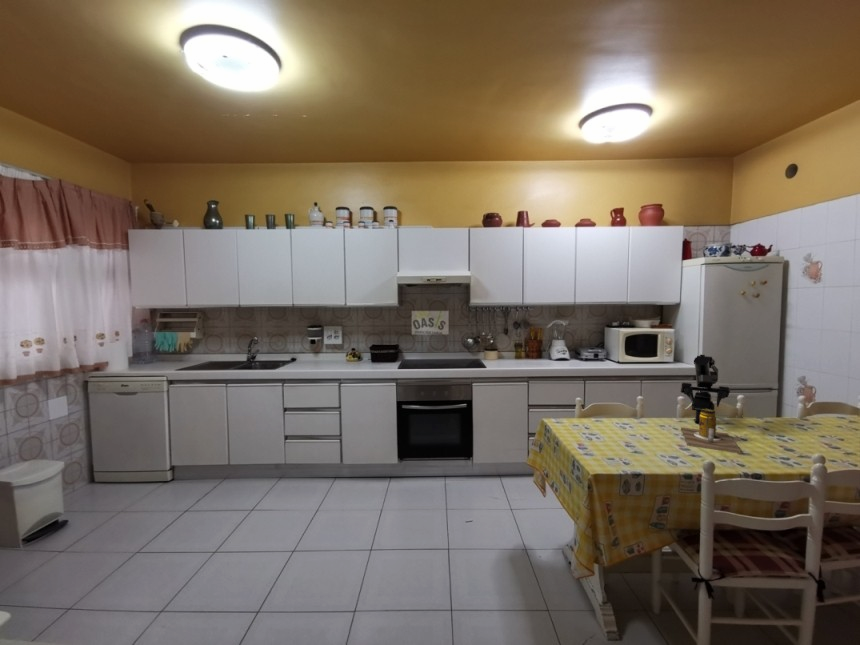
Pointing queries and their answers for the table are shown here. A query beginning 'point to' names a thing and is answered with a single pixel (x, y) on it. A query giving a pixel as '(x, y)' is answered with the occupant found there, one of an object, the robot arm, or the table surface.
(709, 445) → the locating plate
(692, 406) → the robot arm
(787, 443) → the table surface
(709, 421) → the condiment
